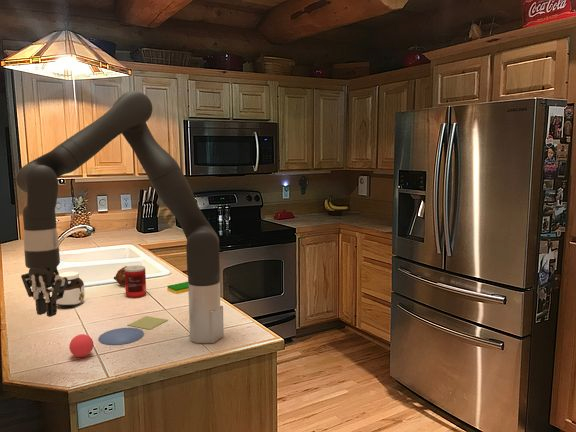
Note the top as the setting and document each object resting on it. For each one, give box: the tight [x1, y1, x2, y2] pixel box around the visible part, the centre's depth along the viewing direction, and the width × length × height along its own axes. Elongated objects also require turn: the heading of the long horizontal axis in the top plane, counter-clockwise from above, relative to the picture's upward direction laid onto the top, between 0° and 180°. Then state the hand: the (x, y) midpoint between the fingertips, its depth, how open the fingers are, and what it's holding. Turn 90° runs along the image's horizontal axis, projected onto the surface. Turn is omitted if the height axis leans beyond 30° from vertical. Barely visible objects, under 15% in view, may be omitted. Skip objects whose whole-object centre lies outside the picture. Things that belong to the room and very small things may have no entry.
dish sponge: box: [166, 281, 189, 295], centre depth 190 cm, size 7×14×2 cm, turn 132°
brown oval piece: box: [113, 265, 129, 287], centre depth 195 cm, size 8×8×12 cm
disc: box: [97, 327, 145, 346], centre depth 141 cm, size 13×13×1 cm
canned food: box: [124, 264, 147, 299], centre depth 180 cm, size 8×8×11 cm
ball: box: [69, 333, 94, 358], centre depth 127 cm, size 6×6×6 cm
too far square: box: [127, 315, 169, 331], centre depth 152 cm, size 9×9×1 cm
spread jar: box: [56, 271, 85, 309], centre depth 170 cm, size 12×11×12 cm
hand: (46, 314), depth 116 cm, fingers open, 3 cm apart
